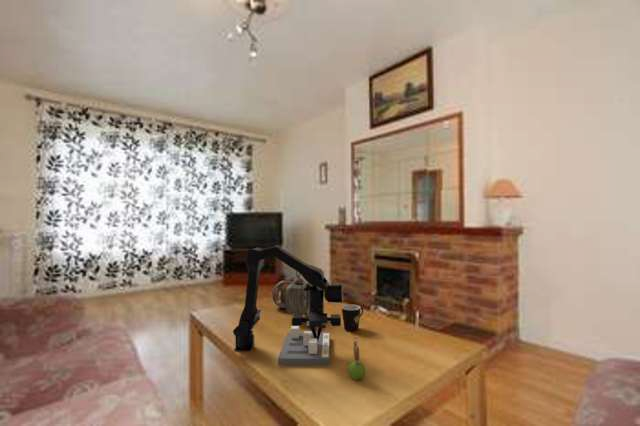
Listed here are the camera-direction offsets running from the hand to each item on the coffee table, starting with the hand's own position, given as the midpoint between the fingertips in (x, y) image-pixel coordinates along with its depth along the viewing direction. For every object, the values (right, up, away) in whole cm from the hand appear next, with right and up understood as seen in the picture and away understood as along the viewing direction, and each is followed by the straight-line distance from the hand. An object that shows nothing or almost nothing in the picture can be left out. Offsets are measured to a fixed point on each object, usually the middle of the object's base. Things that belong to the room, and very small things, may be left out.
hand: (316, 342), depth 126 cm
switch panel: (-4, -3, 0) cm, 5 cm away
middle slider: (-4, -1, 0) cm, 4 cm away
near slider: (-1, -1, -7) cm, 7 cm away
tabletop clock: (-10, -3, +37) cm, 39 cm away
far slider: (-9, -1, +7) cm, 12 cm away
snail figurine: (+13, -4, -21) cm, 25 cm away
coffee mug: (+17, -3, +22) cm, 28 cm away
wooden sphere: (-18, -3, +57) cm, 60 cm away
